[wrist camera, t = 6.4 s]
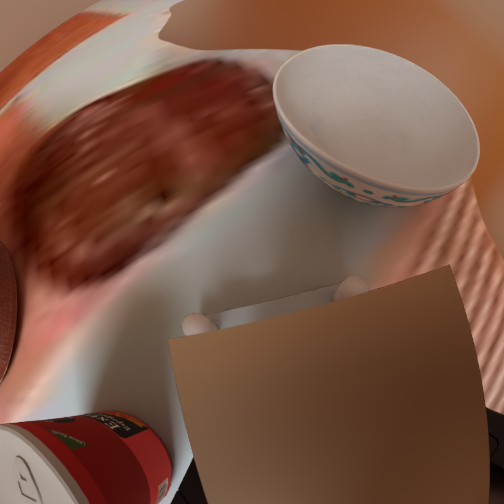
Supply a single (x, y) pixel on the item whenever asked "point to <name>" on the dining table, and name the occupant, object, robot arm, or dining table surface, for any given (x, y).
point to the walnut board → (341, 402)
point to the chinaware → (375, 125)
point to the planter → (7, 309)
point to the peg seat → (274, 307)
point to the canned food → (83, 461)
